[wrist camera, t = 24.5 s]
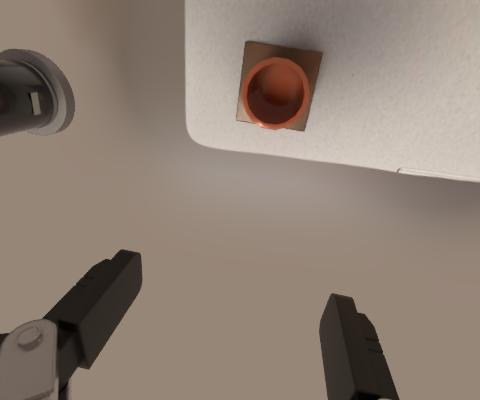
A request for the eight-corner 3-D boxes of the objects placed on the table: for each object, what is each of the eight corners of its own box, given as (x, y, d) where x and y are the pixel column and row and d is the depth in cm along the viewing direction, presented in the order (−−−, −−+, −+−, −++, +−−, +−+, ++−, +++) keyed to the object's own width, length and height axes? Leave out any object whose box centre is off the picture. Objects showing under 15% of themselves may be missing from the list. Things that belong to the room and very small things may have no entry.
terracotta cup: (247, 112, 34) (238, 123, 27) (255, 56, 31) (246, 52, 24) (297, 120, 34) (300, 134, 27) (309, 64, 31) (317, 63, 24)
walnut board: (236, 119, 36) (235, 120, 35) (246, 42, 32) (245, 41, 31) (303, 130, 35) (304, 131, 34) (322, 52, 31) (323, 52, 30)
